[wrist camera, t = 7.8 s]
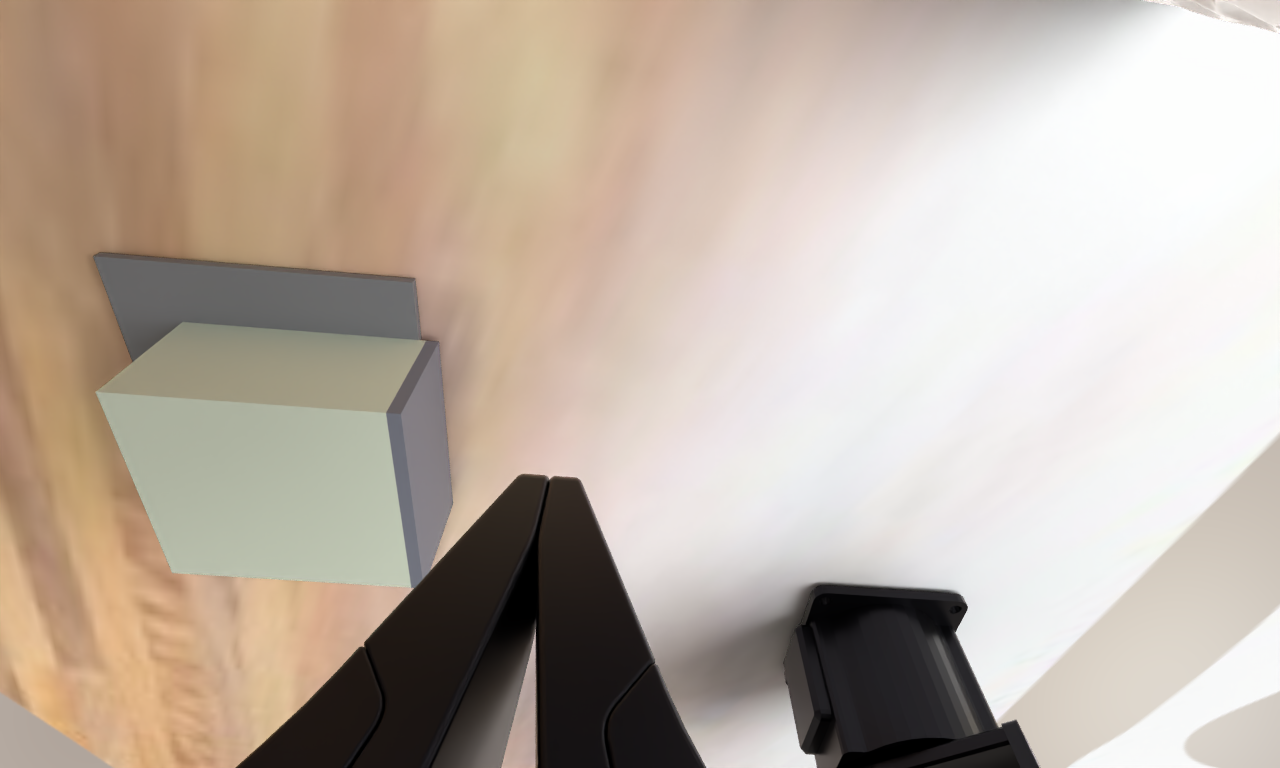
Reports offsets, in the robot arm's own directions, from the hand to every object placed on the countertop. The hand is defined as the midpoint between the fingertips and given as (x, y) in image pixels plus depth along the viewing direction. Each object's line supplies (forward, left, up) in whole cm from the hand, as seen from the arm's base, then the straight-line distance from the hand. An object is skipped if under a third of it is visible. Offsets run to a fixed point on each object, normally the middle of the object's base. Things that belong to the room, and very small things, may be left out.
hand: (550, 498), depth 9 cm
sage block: (+5, +8, -10) cm, 13 cm away
